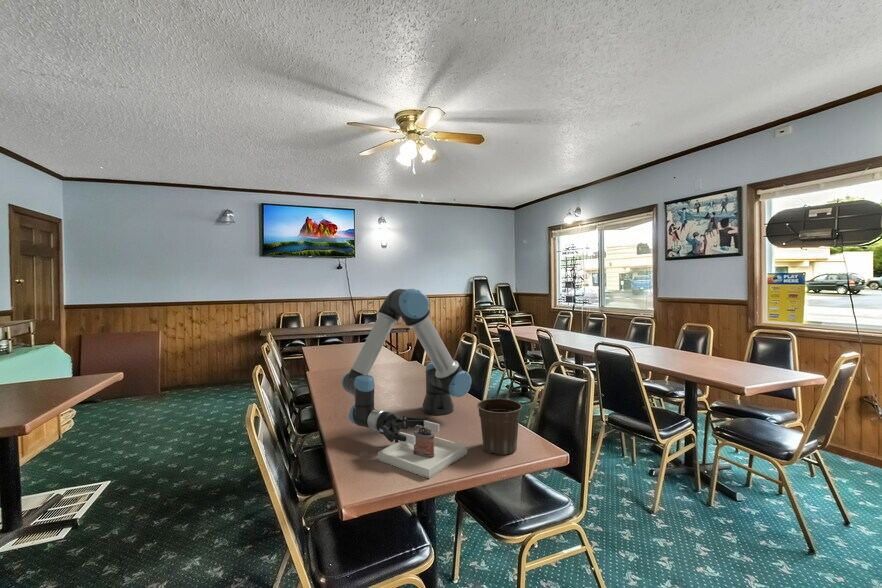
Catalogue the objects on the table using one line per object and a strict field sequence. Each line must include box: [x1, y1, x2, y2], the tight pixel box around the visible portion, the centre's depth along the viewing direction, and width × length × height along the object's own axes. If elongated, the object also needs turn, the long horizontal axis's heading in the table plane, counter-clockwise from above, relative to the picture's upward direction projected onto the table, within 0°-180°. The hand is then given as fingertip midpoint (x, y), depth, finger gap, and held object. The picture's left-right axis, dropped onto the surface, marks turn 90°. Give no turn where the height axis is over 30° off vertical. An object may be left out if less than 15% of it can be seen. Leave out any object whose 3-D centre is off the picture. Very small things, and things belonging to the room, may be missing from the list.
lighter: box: [412, 425, 436, 458], centre depth 134 cm, size 8×3×10 cm, turn 62°
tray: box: [377, 434, 468, 479], centre depth 134 cm, size 22×22×3 cm
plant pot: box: [476, 398, 523, 456], centre depth 141 cm, size 16×16×16 cm
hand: (427, 434), depth 133 cm, fingers open, 13 cm apart
